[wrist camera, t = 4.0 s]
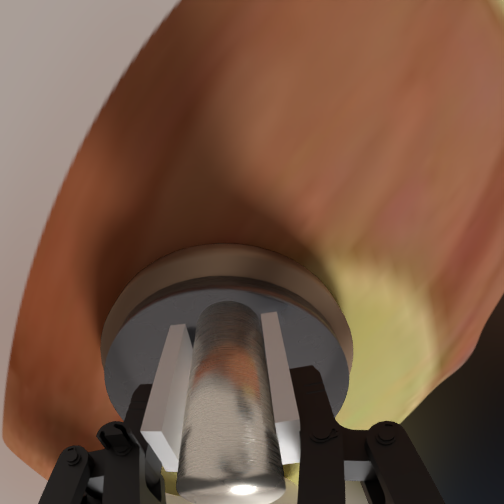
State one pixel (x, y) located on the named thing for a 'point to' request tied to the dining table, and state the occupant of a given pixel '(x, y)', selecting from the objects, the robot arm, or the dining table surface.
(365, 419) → the dining table surface
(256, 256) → the wheel base
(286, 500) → the lidded jar
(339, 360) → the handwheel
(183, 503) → the milk
